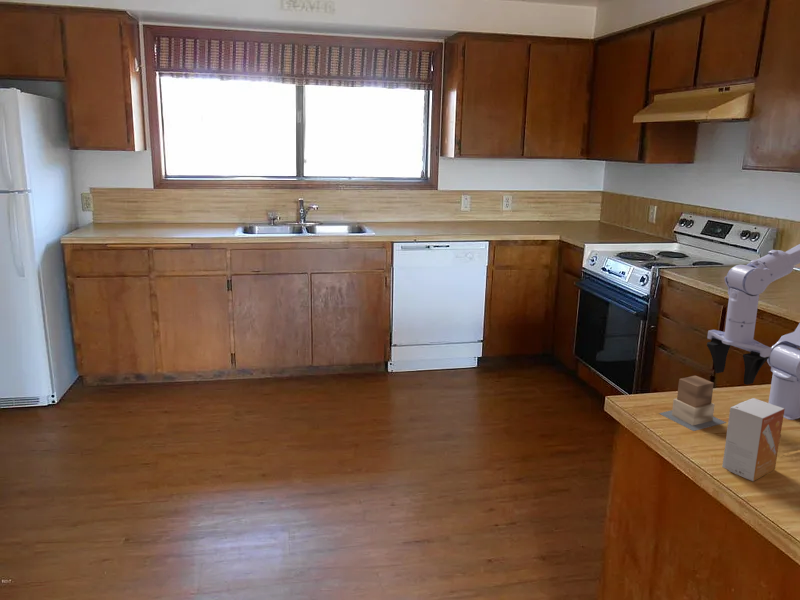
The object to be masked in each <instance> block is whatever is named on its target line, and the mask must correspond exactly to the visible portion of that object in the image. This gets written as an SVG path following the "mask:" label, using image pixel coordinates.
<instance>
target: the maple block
mask: <svg viewBox="0 0 800 600" xmlns="http://www.w3.org/2000/svg"><path fill="white" fill-rule="evenodd" d="M672 400H673V401H672V409H671V410H672V415H673V416H675V417H677V418H679V419H681V420H683V421H685V422H687V423H689V424H691V425H697V424H701V423H705V422H709V421H713V417H714V413H715V405H716V404H715V403H713V402H711V404H708V405H704V406H699V407H692V406H690V405H688V404H686V403H684V402H682V401H679V400H677V397H676V398H673V399H672Z"/></svg>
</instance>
